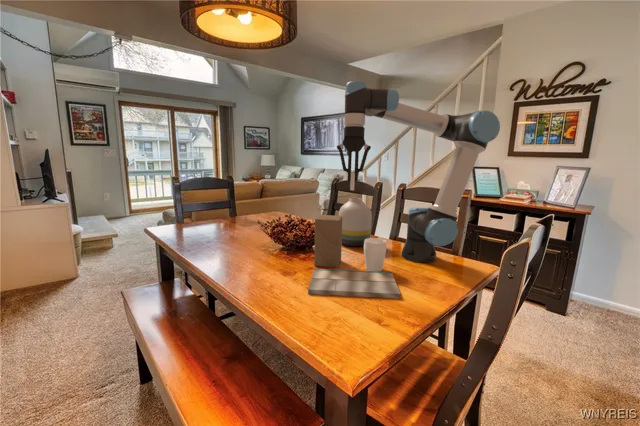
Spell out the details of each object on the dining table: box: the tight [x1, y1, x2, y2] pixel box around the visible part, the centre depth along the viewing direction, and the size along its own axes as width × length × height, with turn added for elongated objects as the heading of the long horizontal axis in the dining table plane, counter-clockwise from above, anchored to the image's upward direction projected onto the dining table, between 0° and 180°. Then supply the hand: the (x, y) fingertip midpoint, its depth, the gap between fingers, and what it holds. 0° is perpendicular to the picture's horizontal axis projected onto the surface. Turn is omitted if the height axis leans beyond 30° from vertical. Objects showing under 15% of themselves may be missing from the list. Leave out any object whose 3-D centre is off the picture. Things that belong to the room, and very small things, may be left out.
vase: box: [338, 197, 373, 247], centre depth 158 cm, size 17×17×24 cm
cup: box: [363, 237, 387, 272], centre depth 124 cm, size 9×9×12 cm
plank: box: [310, 268, 396, 283], centre depth 114 cm, size 30×9×2 cm, turn 85°
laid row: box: [307, 278, 401, 299], centre depth 105 cm, size 30×9×2 cm, turn 85°
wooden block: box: [313, 214, 343, 269], centre depth 129 cm, size 10×10×20 cm
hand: (352, 189), depth 117 cm, fingers closed
